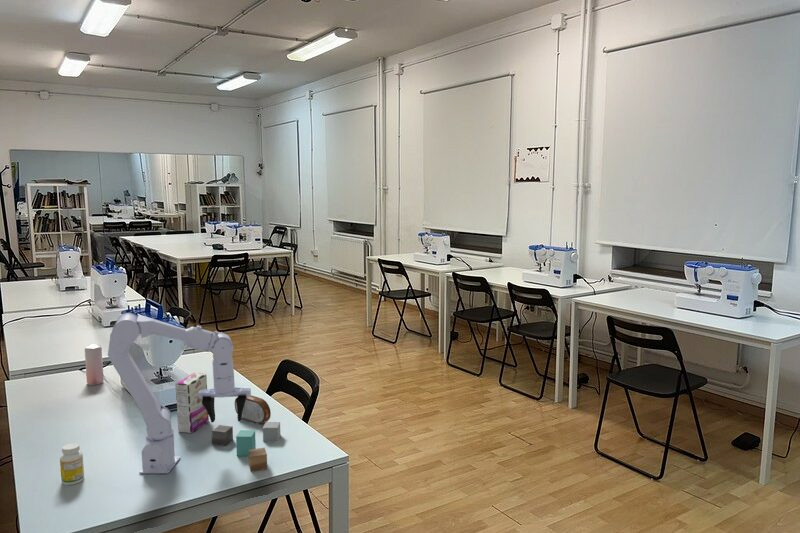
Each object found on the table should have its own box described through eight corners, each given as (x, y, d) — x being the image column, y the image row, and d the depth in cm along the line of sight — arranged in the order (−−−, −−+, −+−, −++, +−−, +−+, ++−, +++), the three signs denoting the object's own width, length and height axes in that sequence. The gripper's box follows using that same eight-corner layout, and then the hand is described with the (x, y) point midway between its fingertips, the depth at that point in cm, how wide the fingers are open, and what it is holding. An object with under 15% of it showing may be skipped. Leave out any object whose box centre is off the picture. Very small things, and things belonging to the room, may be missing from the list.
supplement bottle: (80, 484, 156) (78, 450, 155) (58, 486, 155) (55, 451, 154) (87, 474, 161) (84, 441, 160) (65, 476, 160) (63, 442, 159)
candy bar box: (195, 419, 200) (193, 372, 198) (209, 420, 199) (207, 373, 197) (177, 432, 189) (174, 383, 187) (191, 433, 188) (189, 384, 186)
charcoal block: (225, 446, 179) (224, 432, 179) (212, 444, 181) (211, 430, 180) (233, 440, 184) (232, 426, 183) (220, 438, 185) (219, 424, 184)
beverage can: (87, 381, 236) (84, 345, 234) (104, 379, 239) (101, 343, 237) (86, 386, 231) (84, 349, 229) (103, 384, 234) (101, 347, 232)
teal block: (252, 456, 173) (251, 436, 172) (236, 456, 173) (236, 436, 172) (255, 449, 178) (255, 430, 177) (240, 449, 178) (240, 430, 177)
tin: (271, 424, 196) (271, 399, 195) (264, 427, 194) (264, 402, 193) (240, 414, 204) (239, 390, 203) (233, 417, 202) (232, 393, 201)
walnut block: (267, 469, 165) (266, 454, 165) (250, 472, 164) (250, 456, 163) (265, 462, 169) (264, 447, 169) (248, 464, 168) (248, 449, 167)
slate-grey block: (277, 441, 183) (277, 427, 182) (263, 441, 183) (262, 427, 182) (280, 435, 188) (280, 421, 187) (266, 435, 187) (265, 421, 187)
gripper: (194, 381, 166) (197, 427, 168) (246, 379, 167) (249, 425, 169) (201, 373, 173) (204, 417, 175) (251, 371, 174) (253, 415, 176)
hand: (226, 420), depth 172 cm, fingers open, 7 cm apart
